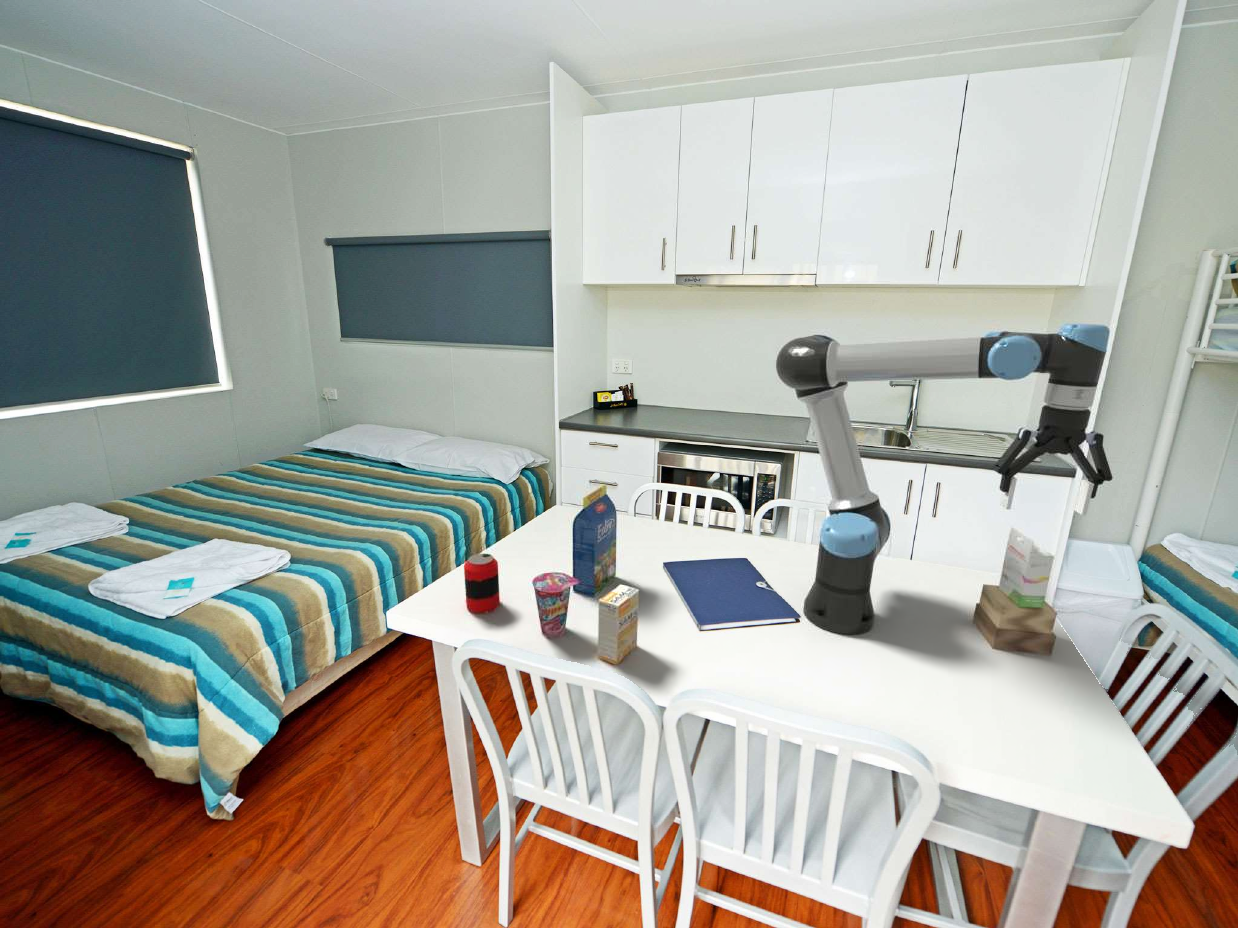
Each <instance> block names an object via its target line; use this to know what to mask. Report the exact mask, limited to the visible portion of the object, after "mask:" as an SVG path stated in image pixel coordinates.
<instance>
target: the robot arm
mask: <svg viewBox="0 0 1238 928" xmlns="http://www.w3.org/2000/svg"><path fill="white" fill-rule="evenodd" d="M1110 333H1111V330H1110V328H1109V327H1108V326H1106V325H1105V324H1097V323H1095V324H1092V323H1090V324H1089V323H1064V324H1062V325H1061V326H1060V328H1059V330H1058V331H1057V333H1035V332H1018V331H1015V332H1014V331H1009V330H1008V331H1005V330H1004V331H989V332H987V333H986V334H985V335H984V337H965V338H947V339H934V340H933V339H931V340H930V339H928V340H911V341H895V342H880V343H879V342H877V343H876V342H874V343H860V344H859V343H858V344H842V345H841V344H840V342H838V341H837V340H836V339H834V338H832V337H830V336H827V335H823V334H814V335H808V336H804V337H798V338H794V339H792V340H790V341H789V342H787V343H786V344H784V345H783V346H782V347H781V349H780V351H779V352H778V354H777V357H776V360H775V369H776V373H777V376H778V378H779V379H780V380H781V382H782V383H783V384H784V385H785V386H787V387H789V388H790V389H794V390H795V394H796V398H797V400H799V401H800V402H802V403H804V404H805V405H806V408H807V412H808V416H809V420H810V423H811V426H812V427H811V428H812V430H813V434H814V436H815V442H816V445H817V448H818V452H819V456H820V459H821V463H822V466H823V470H824V474H825V477H826V481H827V486H828V488H829V492H830V495H831V500H830V502H829V503H828V505H827V509H828V513H829V516H828V517H826V518H825V519H824V520H823V523H822V525H821V528H820V532H819V544H818V546H819V547H818V553H817V562H816V570H815V578H814V582H813V584H812V586H811V588H810V589H809V591H808V592H807V595H806V597H805V599H804V601H803V615H804V616H805V618H806V619H807V620H808V621H809V622H811V623H812V624H813V625H815V626H817V627H819V628H821V629H823V630H826V631H829V632H832V633H837V634H841V635H858V634H859V635H860V634H864V633H866V632H869V631H870V630H872V628H873V627H874V623H875V610H874V609H875V608H874V605H873V601H872V595H871V591H870V590H871V584H872V578H873V573H874V565H875V561H876V559H877V557H878V555H879V554H880V552H881V551H882V550H883V548H884V546H885V545H886V543H887V542H888V540H889V538H890V534H891V530H892V529H891V525H892V524H891V519H890V517H889V515H888V513H887V511H886V510H885V509H884V508H883V507H882V506H881V502H880V497H879V495H878V494H876V493H875V492H873V491H871V490H870V487H869V484H868V479H867V476H866V472H865V469H864V465H863V461H862V459H861V454H860V451H859V448H858V443H857V440H856V436H855V432H854V429H853V425H852V422H851V417H850V412H849V410H848V407H847V406H848V405H847V402H846V399H845V395H844V394H845V391H846V389H847V387H848V386H849V383H848V382H886V381H887V382H888V381H893V382H894V381H920V380H921V381H923V380H924V381H925V380H926V381H927V380H928V381H929V380H961V379H962V380H963V379H966V380H967V379H1002V380H1005V381H1015V380H1020V379H1024V378H1026V377H1028V376H1030V375H1031V374H1032V373H1034V374H1035V373H1037V374H1049V378H1048V380H1047V386H1046V390H1045V394H1044V398H1043V402H1044V403H1045V404H1044V405H1043V406H1042V408H1041V412H1040V416H1039V420H1038V427H1037V429H1036V430H1034V429H1033V430H1030V429H1028V428H1025V427H1020V428H1019V430H1018V432H1017V434H1016V438H1015V439H1014V440H1013V441H1012V443H1011V444H1010V445H1009V447H1008V448H1007V449H1006V451H1004V452H1003V454H1002V455H1001V456H1000V458H999V459H998V460H997V462H995V464H994V465H993V466H992V470H993V471H994V472H996V474H999V475H1001V478H1000V483H999V484H1000V485H999V490H1000V492H1002V496H1001V500H1000V506H1001V507H1002V508H1004V509H1005V510H1011V509H1012V503H1013V499H1014V495H1015V489H1016V486H1017V482H1018V481H1017V480H1018V478H1016V475H1017V474H1018V473H1019V472H1021V471H1022V470H1023V469H1026V467H1027V466H1028V465H1029V464H1030V465H1031V463H1032V462H1034V461H1035V460H1036V459H1038V458H1039V457H1041V456H1043V455H1044V454H1046V453H1048V454H1050V455H1055V454H1060V455H1065V456H1066V455H1067V456H1068V454H1069V455H1070V456H1071V458H1072V459H1073V461H1074V462H1075V463H1076V465H1077V466H1078V467H1079V469H1080V470H1081V471H1082V473H1083V474H1084V476H1085V477H1086V479H1081V482H1080V485H1079V489H1078V493H1077V497H1076V501H1075V506H1074V511H1075V512H1076V513H1078V514H1080V516H1086V515H1087V512H1088V509H1089V505H1090V502H1091V499H1095V498H1096V496H1097V491H1098V487H1099V486H1100V485H1103V484H1104V482H1110V481H1112V480H1113V479H1114V478H1113V474H1112V471H1111V468H1110V465H1109V462H1108V458H1107V455H1106V452H1105V449H1104V446H1103V445H1104V437H1105V436H1104V434H1102V433H1099V432H1096V431H1093V430H1092V431H1090V432H1086V429H1087V428H1088V424H1089V421H1090V417H1091V413H1092V411H1090V409H1088V408H1091V407H1093V405H1094V400H1095V395H1096V392H1097V389H1098V385H1099V380H1100V377H1101V374H1102V370H1103V366H1104V362H1105V357H1106V354H1107V351H1108V350H1107V349H1108V345H1109V344H1108V343H1109V337H1110ZM1033 439H1036V441H1035V442H1034V443H1033V444H1031V445H1030V446H1029V448H1028V449H1027V450H1026V451H1024V452H1023V453H1022V454H1021V455H1020V453H1021V452H1022V451H1023V450H1024V449H1025V448H1026V446H1027V445H1028V443H1029V442H1030V441H1032V440H1033ZM1084 442H1086V444H1088V447H1089V451H1090V454H1091V457H1092V461H1093V464H1094V467H1095V468H1094V467H1093V466H1092V464H1091V463H1090V461H1089V460H1088V459H1087V457H1086V455H1085V452H1084V451H1083V449H1082V448H1081V447H1080V446H1081V444H1083V443H1084Z"/></svg>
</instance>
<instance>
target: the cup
mask: <svg viewBox="0 0 1238 928" xmlns="http://www.w3.org/2000/svg"><path fill="white" fill-rule="evenodd" d="M531 583H532V587H533V590H534V594H535V599H536V600H535V601H536V606H537V614H538V619H539V625H540V629H541V634H542V635H543V636H544V637H546V638H551V639H553V638H560V637H561V636H563V635H564V634H565V633H566V628H567V627H566V625H567V619H568V610H569V603H570V597H571V595H570V593H571V587H573V585H575V584H578V583H579V581H578V580H577V579H575V578H573V576H571V575H569V574H567V573H564V572H558V571H557V572H556V571H552V572H544V573H541V574H538V575H536V576H535V577H533V579H532V582H531Z"/></svg>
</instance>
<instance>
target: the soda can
mask: <svg viewBox="0 0 1238 928" xmlns="http://www.w3.org/2000/svg"><path fill="white" fill-rule="evenodd" d="M463 571H464V573H463V574H464V587H465V589H464V590H465V602H466V603H465V604H466V609H467V610H468V611H469V612H471V613H473V614H480V615H481V614H488V613H491V612H493V611H495V610H496V609H497V608H498V607H500V604H501V601H500V582H499V581H500V580H499V563H498V560H497V559H496V558H495V557H494V556H493V555H492V554H489V553H476V554H473V555H471V556H469V557H468V559H467V560H466V561H465V563H464V565H463Z"/></svg>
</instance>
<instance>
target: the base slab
mask: <svg viewBox="0 0 1238 928" xmlns="http://www.w3.org/2000/svg"><path fill="white" fill-rule="evenodd" d="M972 622H973V624H974V625H975V627H976V628H977V629H978V630H979V632H980V633H981V635H982V636H983V637H984V639H985V640H986V642H987V643H988V645H989V646H990V647H991V648H992V650H993V649H994V650H999V651H1000V650H1002V651H1008V652H1009V651H1010V652H1017V653H1026V654H1034V655H1045V656H1052V655H1053V654H1052V653H1053V650H1054V646H1055V642H1056V638H1057V635H1056V634H1055V633H1054V632H1053V631H1052V634H1045V633H1036V632H1027V631H1018V630H1008V629H999V628H997V626H996V625H995V624H994V623H993V621H992V620H991V619H990V618H989V616H988V615H987V614H986V613H985V611H984V610H983V609H982V607H981V606H980V605H979V602H976V604H975V609H974V613H973V618H972Z"/></svg>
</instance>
